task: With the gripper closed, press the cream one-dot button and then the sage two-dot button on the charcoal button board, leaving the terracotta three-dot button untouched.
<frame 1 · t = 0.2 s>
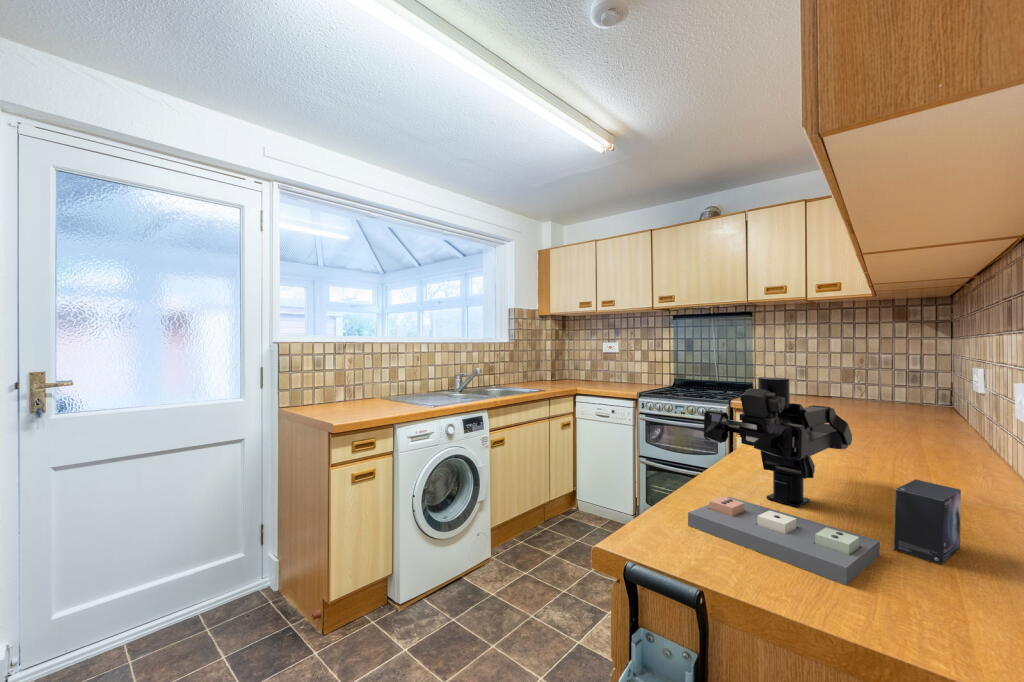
hand: (729, 439, 82), 17 cm above the countertop, tool horizontal, fingers open, 9 cm apart
one-dot button: (776, 523, 77), point 3 cm above the countertop, slide at 0.0 cm
three-dot button: (726, 507, 85), point 3 cm above the countertop, slide at 0.0 cm
button board: (776, 539, 77), on the countertop
two-dot button: (837, 542, 70), point 3 cm above the countertop, slide at 0.0 cm
small box: (927, 551, 74), on the countertop
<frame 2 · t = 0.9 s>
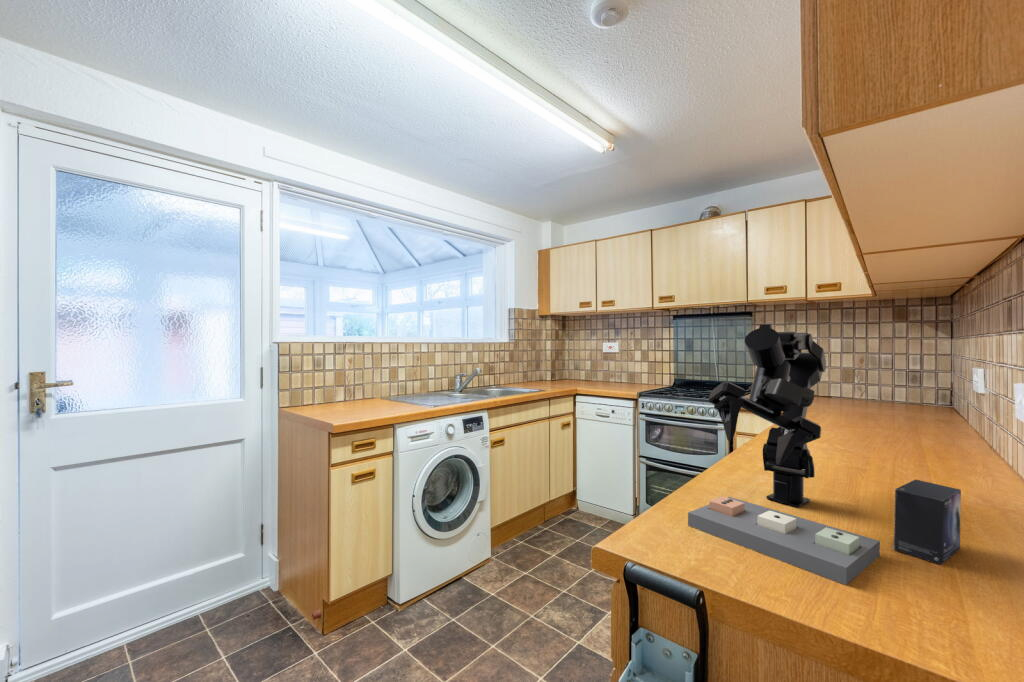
hand: (754, 452, 79), 15 cm above the countertop, tool tilted 40°, fingers open, 9 cm apart
nothing on the countertop moved.
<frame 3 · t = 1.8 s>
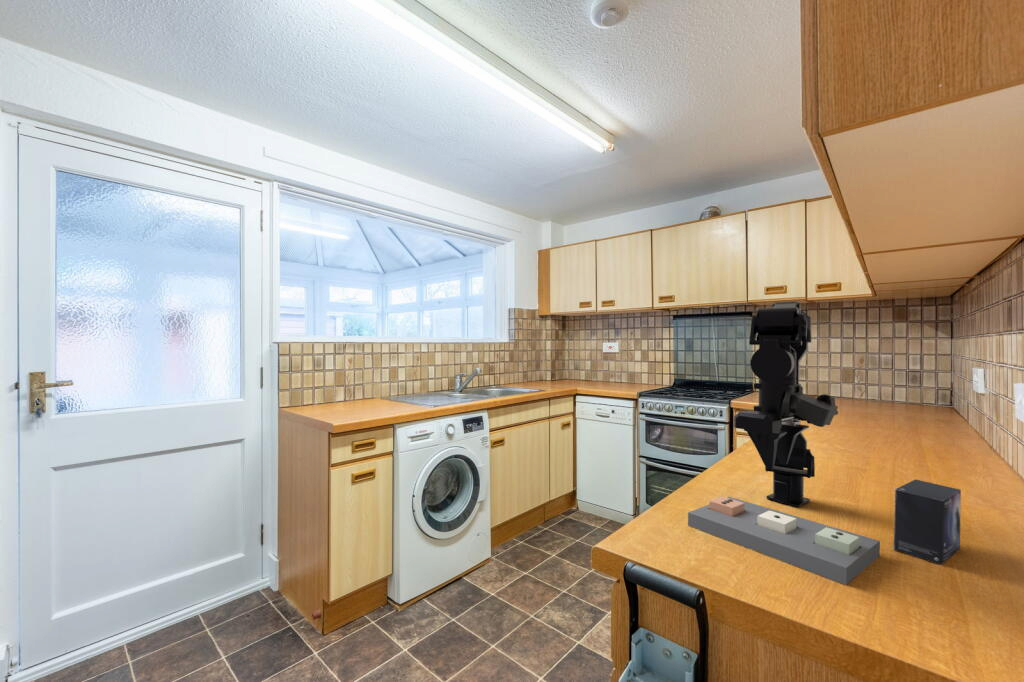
hand: (776, 466, 77), 13 cm above the countertop, tool pointing down, fingers open, 5 cm apart
nothing on the countertop moved.
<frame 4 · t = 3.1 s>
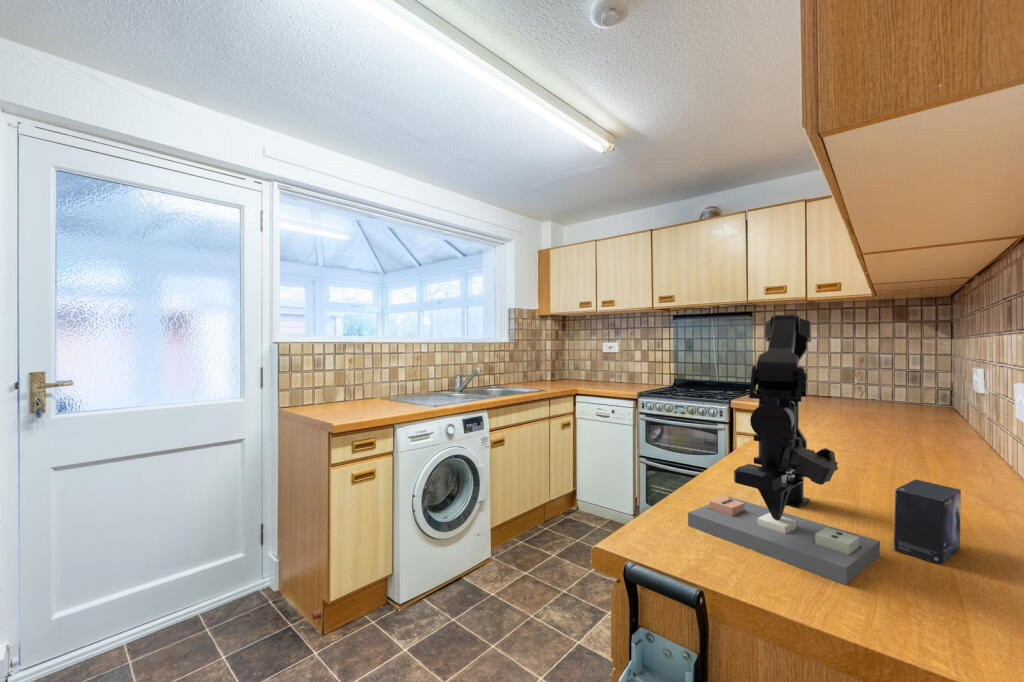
hand: (776, 518, 77), 4 cm above the countertop, tool pointing down, fingers closed, pressing on one-dot button
one-dot button: (776, 526, 77), point 2 cm above the countertop, slide at 0.4 cm, touching gripper
everything else where it was.
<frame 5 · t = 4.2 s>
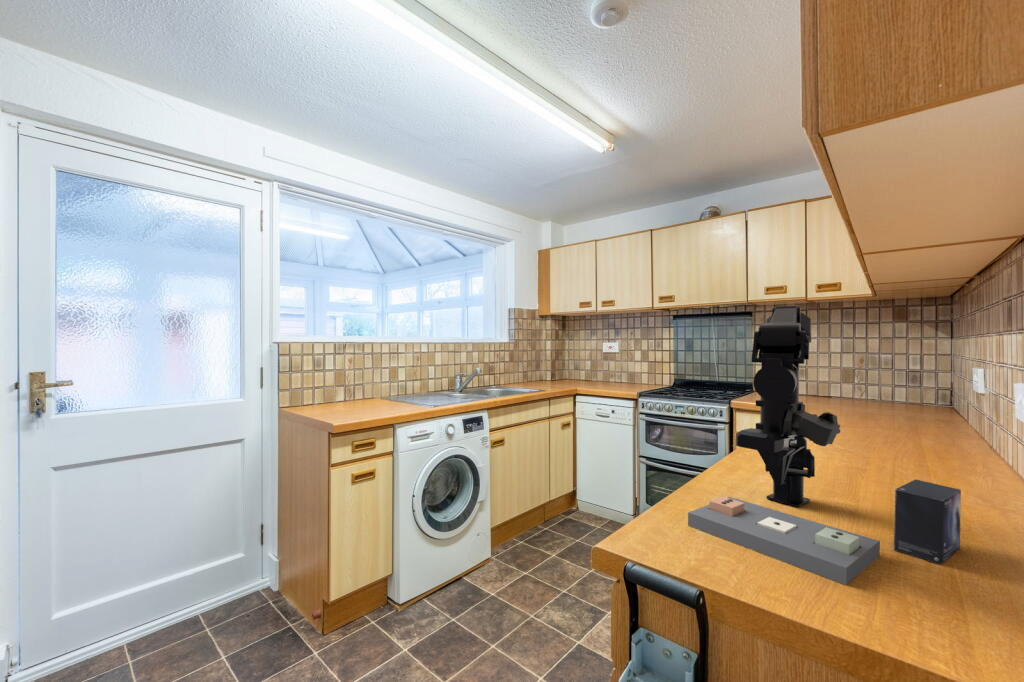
hand: (778, 483, 77), 10 cm above the countertop, tool pointing down, fingers closed
one-dot button: (776, 530, 77), point 2 cm above the countertop, slide at 1.2 cm
everything else where it was.
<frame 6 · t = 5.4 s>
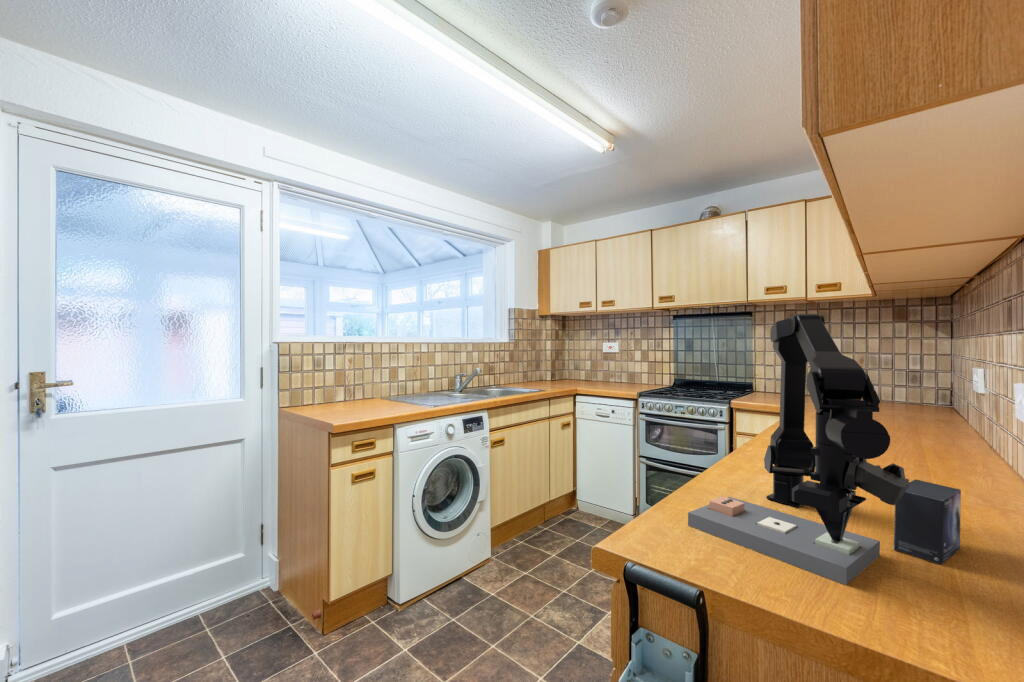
hand: (836, 540, 70), 3 cm above the countertop, tool pointing down, fingers closed, pressing on two-dot button
two-dot button: (837, 548, 70), point 2 cm above the countertop, slide at 0.9 cm, touching gripper
everything else where it was.
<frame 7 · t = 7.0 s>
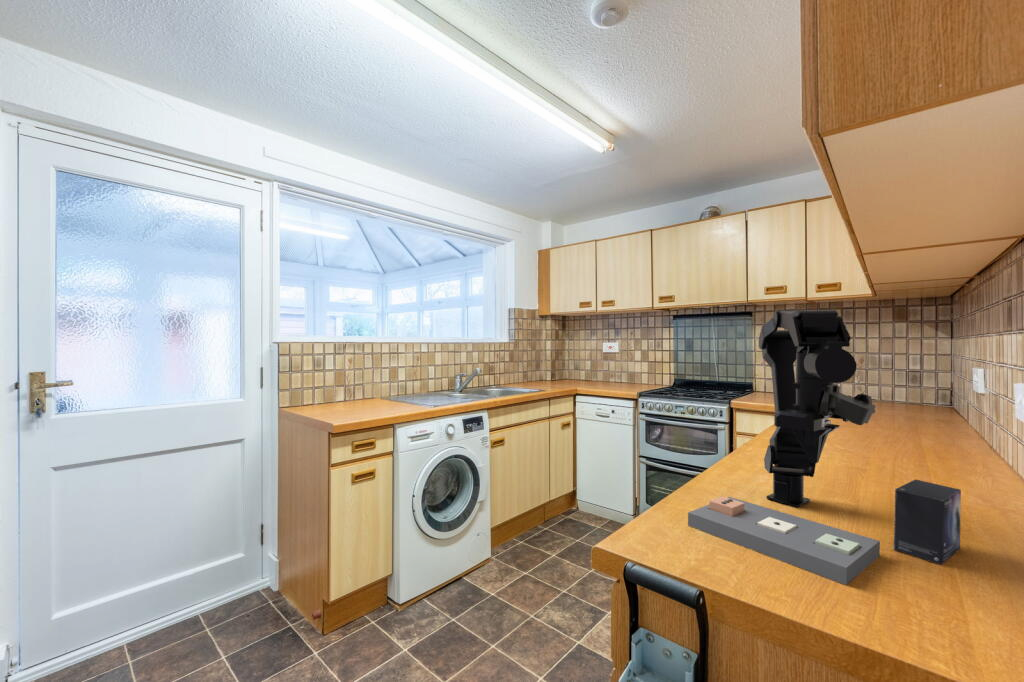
hand: (814, 462, 81), 13 cm above the countertop, tool pointing down, fingers closed
two-dot button: (837, 549, 70), point 2 cm above the countertop, slide at 1.0 cm
everything else where it was.
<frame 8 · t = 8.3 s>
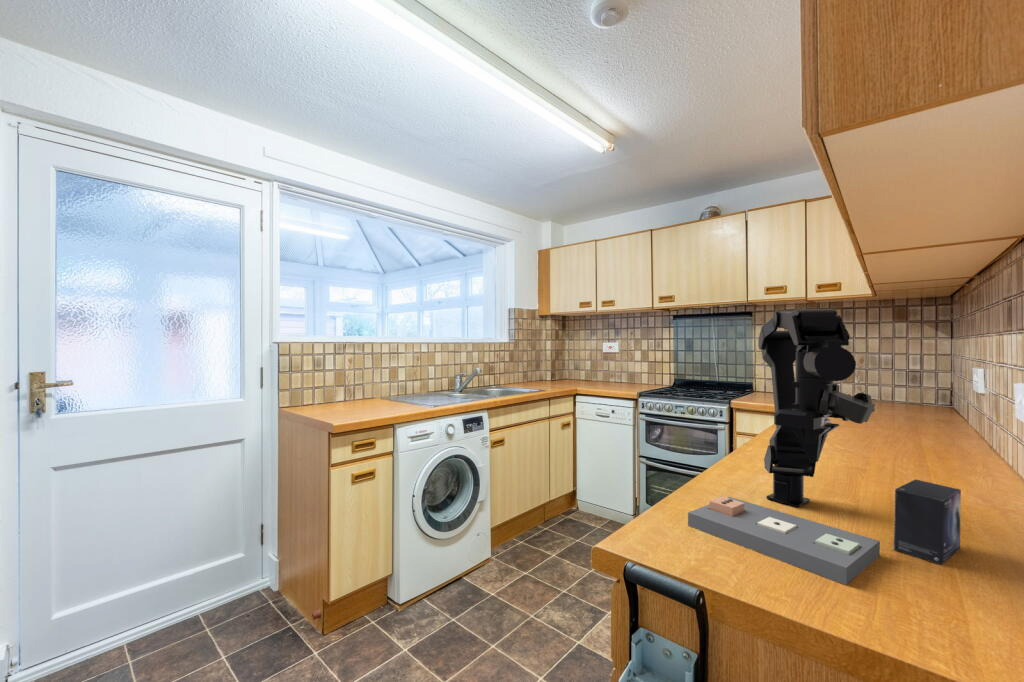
hand: (813, 461, 81), 13 cm above the countertop, tool pointing down, fingers closed
nothing on the countertop moved.
at the end: one-dot button slide at 1.2 cm; two-dot button slide at 1.0 cm; three-dot button slide at 0.0 cm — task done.
